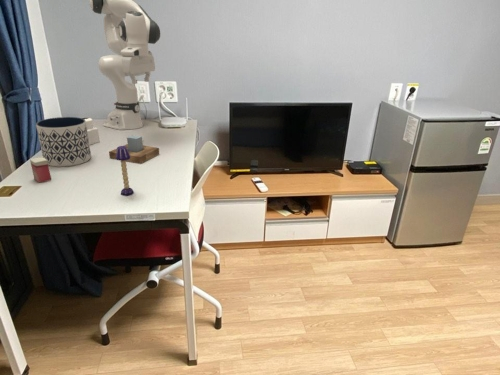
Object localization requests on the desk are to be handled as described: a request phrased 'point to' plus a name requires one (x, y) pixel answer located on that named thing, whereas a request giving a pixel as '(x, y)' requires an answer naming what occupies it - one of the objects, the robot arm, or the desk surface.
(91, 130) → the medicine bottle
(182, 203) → the desk surface
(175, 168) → the desk surface
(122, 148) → the toy lamp
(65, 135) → the planter
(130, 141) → the key block
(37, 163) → the small box
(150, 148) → the wooden socket board
